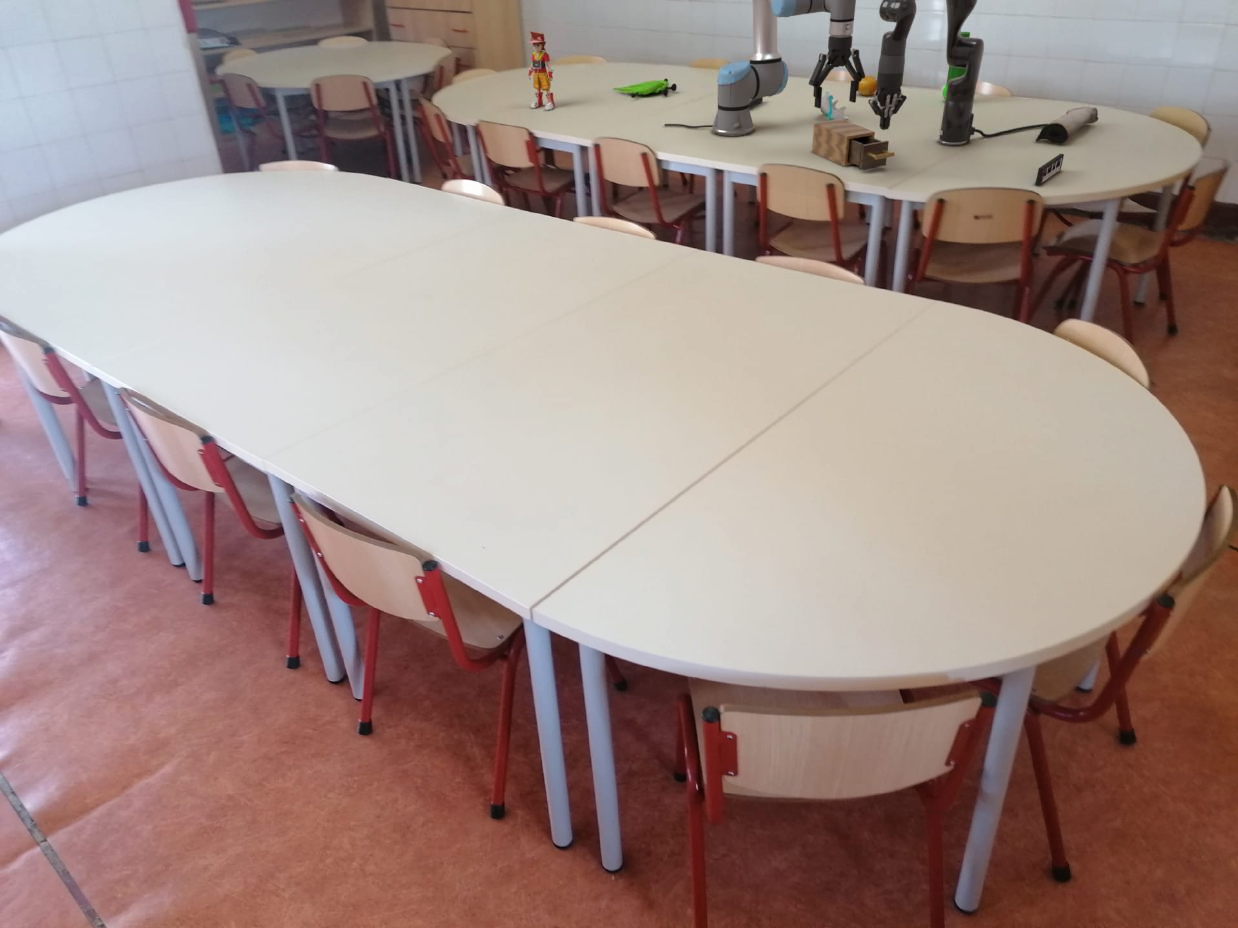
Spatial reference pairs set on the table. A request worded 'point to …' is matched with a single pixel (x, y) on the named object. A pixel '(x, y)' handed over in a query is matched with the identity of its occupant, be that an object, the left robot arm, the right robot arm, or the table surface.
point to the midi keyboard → (1049, 169)
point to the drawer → (868, 152)
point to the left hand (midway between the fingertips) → (835, 104)
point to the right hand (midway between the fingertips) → (884, 129)
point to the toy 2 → (648, 88)
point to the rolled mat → (1068, 125)
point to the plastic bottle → (955, 69)
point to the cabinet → (836, 139)
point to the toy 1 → (541, 71)
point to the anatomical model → (832, 108)
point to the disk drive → (755, 102)
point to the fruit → (867, 86)
